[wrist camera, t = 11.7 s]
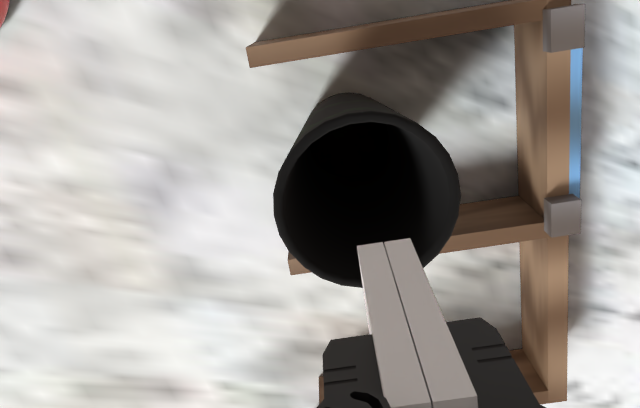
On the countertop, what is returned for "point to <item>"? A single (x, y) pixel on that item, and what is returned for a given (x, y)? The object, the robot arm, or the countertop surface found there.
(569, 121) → the comb rack
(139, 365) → the countertop surface
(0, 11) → the soda can
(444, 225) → the cup
